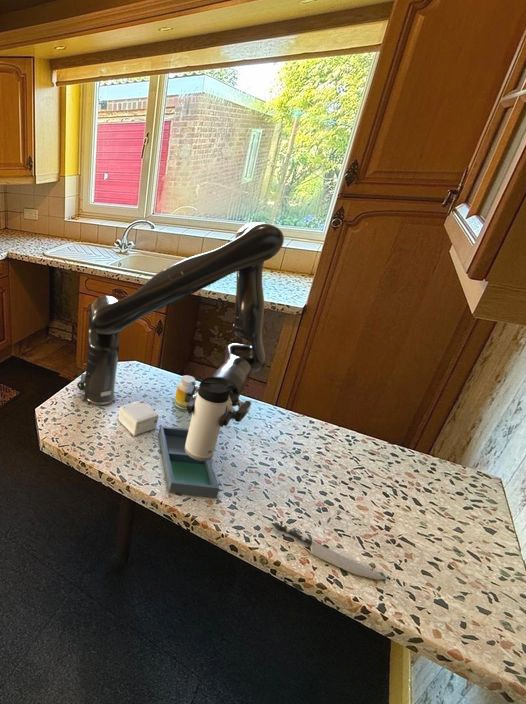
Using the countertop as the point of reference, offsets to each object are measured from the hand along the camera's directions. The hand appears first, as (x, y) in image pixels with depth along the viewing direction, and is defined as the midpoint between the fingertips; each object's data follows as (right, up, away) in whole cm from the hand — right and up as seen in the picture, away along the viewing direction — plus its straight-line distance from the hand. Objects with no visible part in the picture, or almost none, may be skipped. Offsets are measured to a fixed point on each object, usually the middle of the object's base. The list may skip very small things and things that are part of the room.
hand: (205, 416), depth 88 cm
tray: (+1, -15, +14) cm, 20 cm away
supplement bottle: (+9, -4, +36) cm, 37 cm away
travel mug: (+2, -10, +7) cm, 12 cm away
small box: (-8, -8, +28) cm, 30 cm away
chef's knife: (+20, -26, -8) cm, 34 cm away
